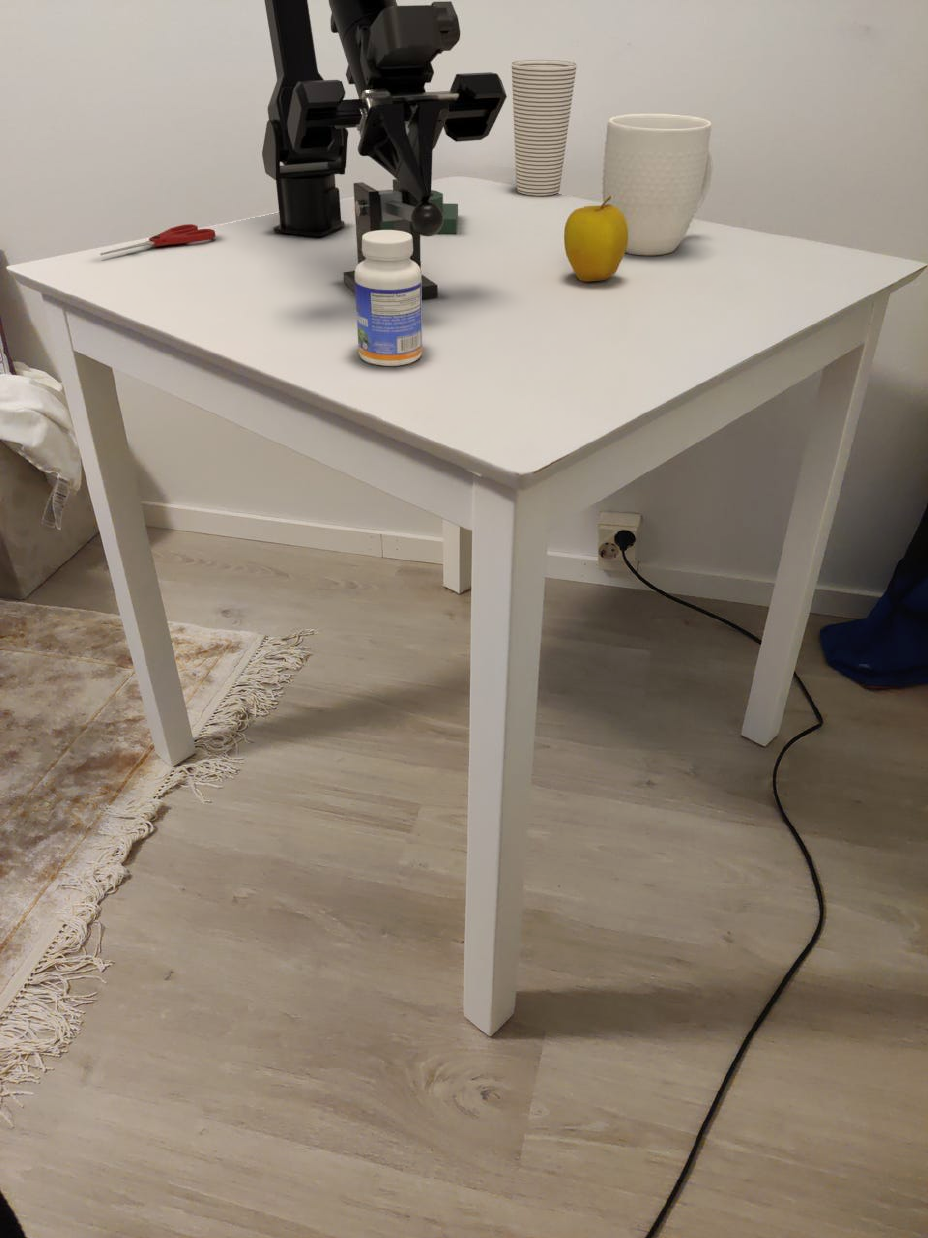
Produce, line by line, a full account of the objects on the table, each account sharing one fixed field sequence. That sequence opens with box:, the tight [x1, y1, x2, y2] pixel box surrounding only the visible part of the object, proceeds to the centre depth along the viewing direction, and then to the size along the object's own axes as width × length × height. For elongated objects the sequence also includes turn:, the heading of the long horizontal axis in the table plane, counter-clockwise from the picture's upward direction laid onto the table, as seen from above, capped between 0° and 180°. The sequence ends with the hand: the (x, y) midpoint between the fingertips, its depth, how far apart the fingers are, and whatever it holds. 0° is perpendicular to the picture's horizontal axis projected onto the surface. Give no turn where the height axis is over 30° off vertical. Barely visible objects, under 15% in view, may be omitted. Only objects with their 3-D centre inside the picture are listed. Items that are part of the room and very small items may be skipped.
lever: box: [378, 189, 443, 237], centre depth 87 cm, size 13×3×3 cm, turn 25°
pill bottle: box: [354, 230, 423, 367], centre depth 78 cm, size 5×5×10 cm
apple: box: [563, 196, 628, 282], centre depth 96 cm, size 6×6×8 cm
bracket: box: [342, 178, 439, 300], centre depth 92 cm, size 8×7×10 cm
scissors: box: [99, 223, 216, 256], centre depth 108 cm, size 5×14×1 cm, turn 140°
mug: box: [602, 113, 713, 257], centre depth 106 cm, size 15×11×13 cm
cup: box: [511, 59, 578, 197], centre depth 128 cm, size 8×8×16 cm
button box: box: [380, 189, 459, 235], centre depth 116 cm, size 10×8×4 cm
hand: (425, 198), depth 82 cm, fingers closed
